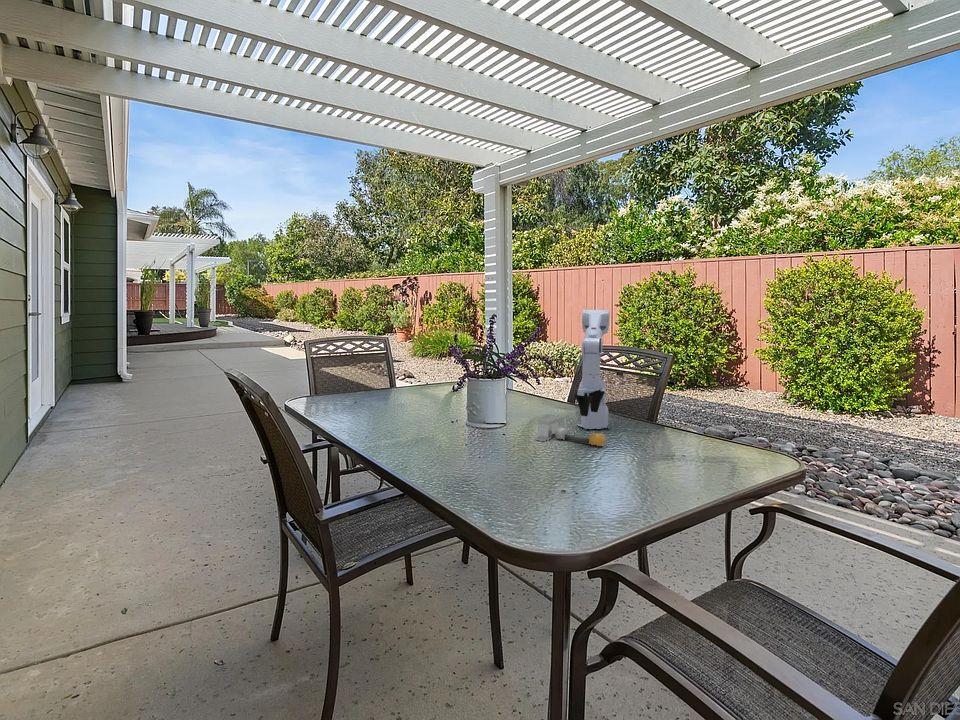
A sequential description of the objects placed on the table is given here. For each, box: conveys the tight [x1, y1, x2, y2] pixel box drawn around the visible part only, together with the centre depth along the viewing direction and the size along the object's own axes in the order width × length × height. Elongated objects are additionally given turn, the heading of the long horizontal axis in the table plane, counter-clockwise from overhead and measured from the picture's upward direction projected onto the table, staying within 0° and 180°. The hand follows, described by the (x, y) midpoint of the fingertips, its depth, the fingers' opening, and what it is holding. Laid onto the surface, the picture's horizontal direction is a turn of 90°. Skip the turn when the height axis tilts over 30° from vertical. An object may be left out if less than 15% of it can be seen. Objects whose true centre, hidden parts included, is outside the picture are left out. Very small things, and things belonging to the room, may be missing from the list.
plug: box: [554, 427, 607, 447], centre depth 184 cm, size 16×4×4 cm, turn 55°
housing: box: [533, 414, 565, 442], centre depth 192 cm, size 4×16×6 cm, turn 143°
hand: (589, 413), depth 184 cm, fingers open, 7 cm apart
